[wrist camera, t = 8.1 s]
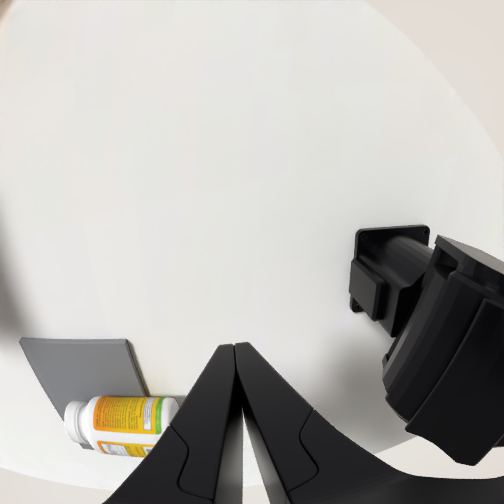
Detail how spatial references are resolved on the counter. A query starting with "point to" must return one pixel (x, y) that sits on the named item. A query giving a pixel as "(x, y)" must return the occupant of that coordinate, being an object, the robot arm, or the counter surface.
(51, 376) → the charcoal mat
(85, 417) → the supplement bottle
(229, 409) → the robot arm
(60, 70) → the counter surface
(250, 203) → the counter surface
